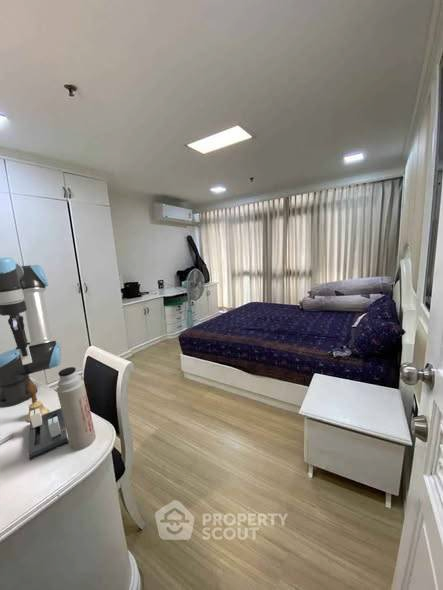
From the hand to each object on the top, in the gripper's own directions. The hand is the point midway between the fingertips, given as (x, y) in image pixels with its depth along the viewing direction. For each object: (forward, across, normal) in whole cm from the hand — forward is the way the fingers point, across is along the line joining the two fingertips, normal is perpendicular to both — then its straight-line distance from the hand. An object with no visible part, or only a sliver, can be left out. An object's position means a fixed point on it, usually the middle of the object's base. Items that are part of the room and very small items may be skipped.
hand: (27, 362), depth 92 cm
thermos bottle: (+27, +21, +11) cm, 36 cm away
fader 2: (+26, +12, +4) cm, 29 cm away
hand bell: (+28, -10, -2) cm, 30 cm away
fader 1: (+26, +1, -2) cm, 26 cm away
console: (+28, +7, +1) cm, 28 cm away
